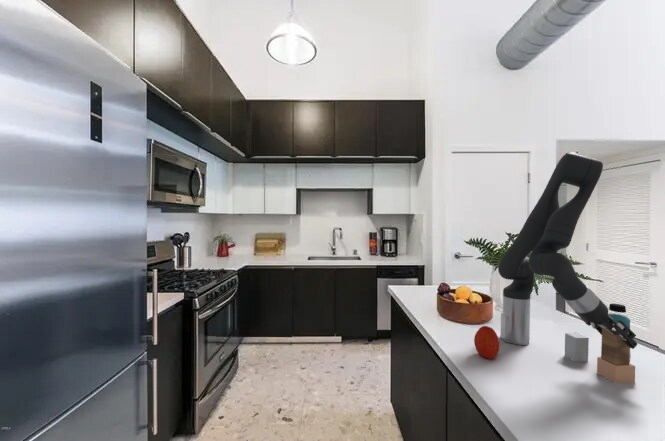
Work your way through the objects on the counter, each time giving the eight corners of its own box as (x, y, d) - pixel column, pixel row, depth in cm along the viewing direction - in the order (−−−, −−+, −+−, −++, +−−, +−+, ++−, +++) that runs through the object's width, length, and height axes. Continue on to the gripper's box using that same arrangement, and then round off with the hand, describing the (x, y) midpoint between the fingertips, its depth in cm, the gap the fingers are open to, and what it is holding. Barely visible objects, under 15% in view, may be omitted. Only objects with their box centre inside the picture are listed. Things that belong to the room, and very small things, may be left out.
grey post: (575, 361, 104) (575, 337, 104) (564, 355, 109) (565, 332, 109) (588, 361, 105) (588, 337, 105) (576, 355, 109) (577, 332, 109)
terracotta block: (615, 383, 91) (615, 366, 91) (597, 372, 97) (597, 357, 97) (634, 383, 91) (635, 366, 91) (615, 372, 97) (615, 356, 97)
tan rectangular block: (615, 364, 92) (616, 330, 92) (601, 357, 96) (602, 325, 96) (629, 364, 92) (630, 331, 92) (614, 357, 97) (615, 325, 97)
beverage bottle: (625, 371, 98) (626, 308, 98) (599, 362, 104) (600, 303, 104) (634, 367, 101) (635, 305, 101) (608, 358, 107) (609, 300, 107)
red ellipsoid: (469, 350, 112) (470, 321, 112) (492, 351, 111) (493, 321, 111) (479, 361, 103) (480, 329, 103) (504, 362, 103) (505, 330, 103)
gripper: (615, 300, 87) (653, 341, 87) (573, 288, 101) (606, 323, 101) (597, 319, 86) (635, 360, 87) (557, 304, 101) (590, 340, 101)
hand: (619, 340), depth 94 cm, fingers open, 8 cm apart
